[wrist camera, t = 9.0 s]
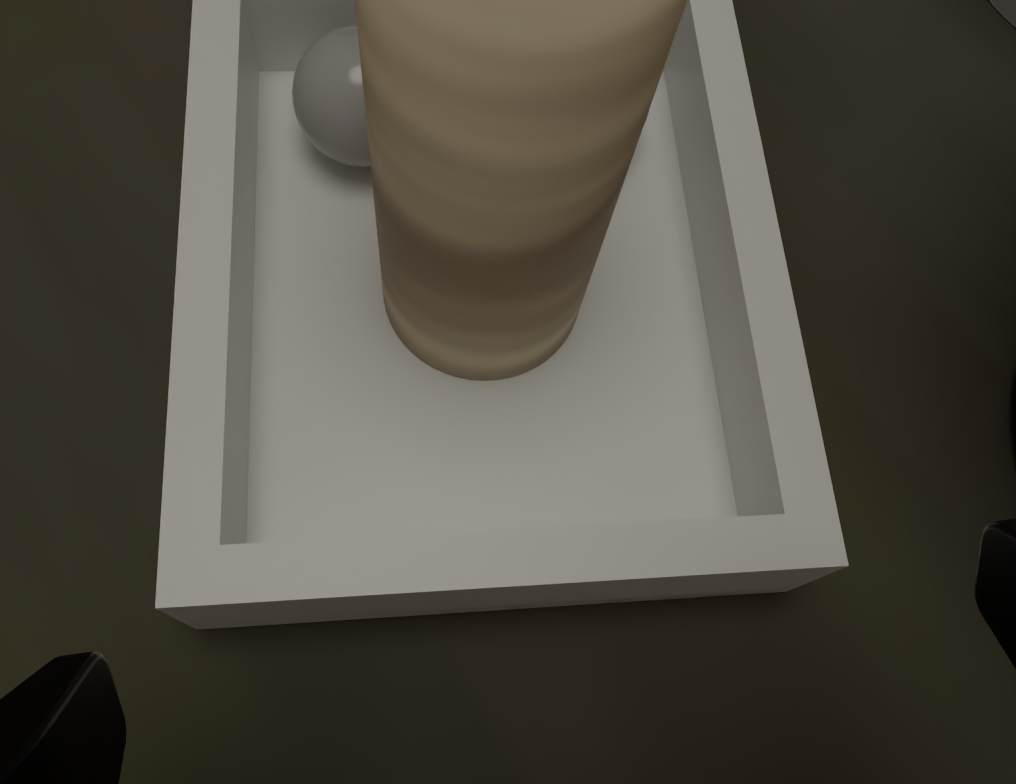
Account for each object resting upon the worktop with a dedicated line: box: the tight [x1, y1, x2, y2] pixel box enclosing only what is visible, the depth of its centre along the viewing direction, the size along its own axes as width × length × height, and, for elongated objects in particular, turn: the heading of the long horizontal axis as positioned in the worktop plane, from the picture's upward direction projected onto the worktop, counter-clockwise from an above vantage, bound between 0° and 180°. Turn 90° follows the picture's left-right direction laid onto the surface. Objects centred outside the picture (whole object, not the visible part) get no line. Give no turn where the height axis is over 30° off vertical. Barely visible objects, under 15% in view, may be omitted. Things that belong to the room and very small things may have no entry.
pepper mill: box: [355, 0, 687, 381], centre depth 14 cm, size 4×4×14 cm
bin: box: [155, 0, 849, 630], centre depth 20 cm, size 14×12×3 cm
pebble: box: [292, 25, 371, 168], centre depth 20 cm, size 3×3×3 cm
